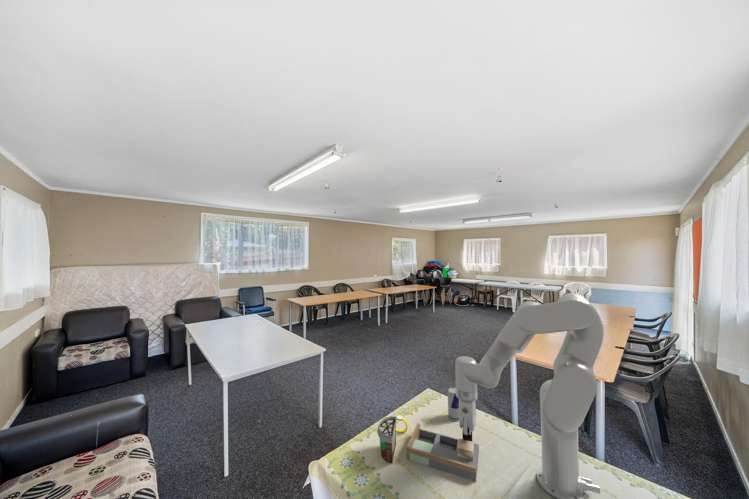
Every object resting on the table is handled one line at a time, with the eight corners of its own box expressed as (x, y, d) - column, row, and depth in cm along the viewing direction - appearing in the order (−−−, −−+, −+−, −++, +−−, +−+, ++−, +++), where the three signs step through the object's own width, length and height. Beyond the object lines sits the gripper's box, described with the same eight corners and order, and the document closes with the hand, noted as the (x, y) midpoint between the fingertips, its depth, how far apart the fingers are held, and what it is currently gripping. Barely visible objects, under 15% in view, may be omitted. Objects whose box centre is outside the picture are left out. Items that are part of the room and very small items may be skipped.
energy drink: (461, 422, 114) (461, 394, 114) (448, 420, 115) (448, 392, 115) (460, 414, 119) (459, 387, 119) (447, 413, 120) (447, 386, 120)
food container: (380, 439, 104) (380, 414, 104) (396, 441, 103) (396, 415, 103) (374, 464, 92) (374, 435, 92) (392, 466, 91) (391, 437, 91)
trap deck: (478, 451, 97) (478, 438, 97) (476, 481, 84) (475, 467, 84) (417, 434, 107) (417, 423, 107) (406, 459, 94) (406, 446, 94)
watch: (393, 433, 108) (391, 418, 108) (394, 428, 111) (393, 414, 111) (407, 434, 106) (406, 419, 107) (408, 430, 109) (407, 415, 109)
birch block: (474, 450, 94) (473, 442, 94) (472, 460, 89) (472, 451, 89) (459, 446, 96) (459, 438, 96) (457, 456, 91) (457, 447, 92)
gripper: (475, 405, 89) (476, 460, 88) (479, 385, 102) (480, 433, 102) (452, 400, 92) (453, 453, 92) (458, 381, 105) (459, 427, 105)
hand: (467, 442), depth 97 cm, fingers closed
